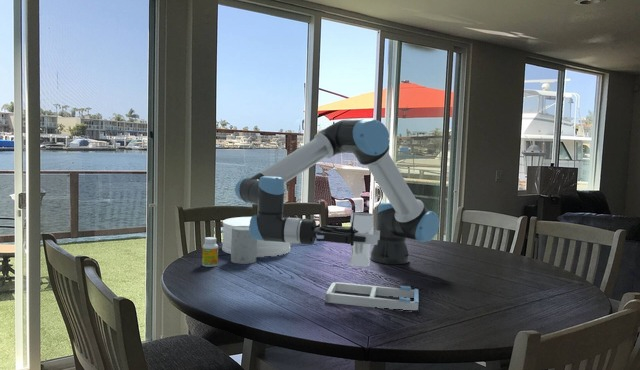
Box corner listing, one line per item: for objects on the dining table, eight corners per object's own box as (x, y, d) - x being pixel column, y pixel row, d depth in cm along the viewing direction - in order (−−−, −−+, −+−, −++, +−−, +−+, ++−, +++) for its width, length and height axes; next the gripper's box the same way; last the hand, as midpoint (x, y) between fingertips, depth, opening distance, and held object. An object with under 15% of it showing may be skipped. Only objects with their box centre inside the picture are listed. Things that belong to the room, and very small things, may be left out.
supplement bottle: (201, 267, 178) (202, 239, 177) (202, 263, 183) (203, 236, 182) (217, 267, 179) (218, 239, 178) (217, 263, 184) (218, 236, 183)
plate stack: (261, 260, 192) (263, 230, 191) (207, 249, 206) (208, 221, 205) (303, 249, 215) (304, 222, 214) (251, 239, 230) (252, 214, 229)
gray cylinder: (225, 261, 187) (226, 228, 186) (239, 256, 196) (240, 224, 195) (248, 265, 184) (249, 231, 183) (261, 259, 193) (262, 227, 191)
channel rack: (325, 302, 145) (325, 293, 145) (332, 289, 158) (332, 281, 158) (417, 312, 141) (418, 303, 141) (417, 298, 154) (418, 290, 153)
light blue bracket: (398, 310, 142) (399, 298, 141) (400, 296, 155) (400, 285, 154) (417, 312, 141) (418, 300, 140) (417, 298, 154) (418, 287, 153)
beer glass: (370, 268, 145) (373, 216, 144) (346, 266, 146) (348, 214, 145) (372, 263, 152) (375, 213, 150) (349, 261, 153) (352, 211, 152)
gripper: (308, 237, 162) (380, 243, 157) (292, 250, 142) (374, 257, 138) (309, 214, 161) (382, 219, 157) (293, 223, 142) (376, 230, 137)
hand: (378, 237), depth 147 cm, fingers closed on beer glass, 7 cm apart
